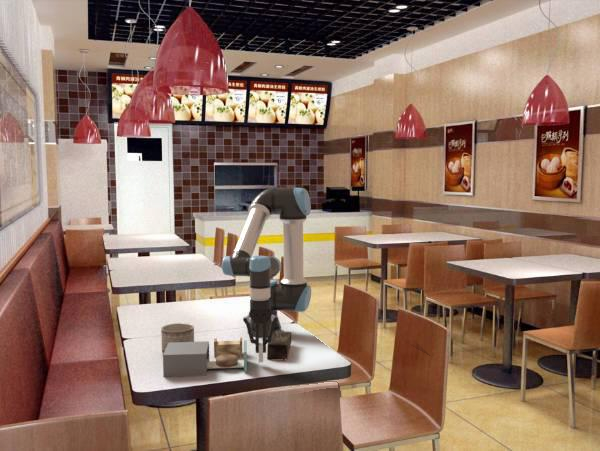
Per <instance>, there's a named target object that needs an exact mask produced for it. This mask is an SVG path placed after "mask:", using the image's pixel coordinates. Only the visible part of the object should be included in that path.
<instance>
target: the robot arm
mask: <svg viewBox="0 0 600 451" xmlns="http://www.w3.org/2000/svg"><path fill="white" fill-rule="evenodd" d="M311 205H312V204H311V197H310V194H309V192H308V190H307V189H306V188H304V187H270V188H266V189H265V190H263V191H261V192H259V193H258V194H257V195H256V196H255V198H253V200H252V201H251V203H250V205H249V206H248V210H247V211H248V217H247V218H246V220H245V223H244V225H243V228H242V230H241V233H240V236H239V237H238V240H237V243H236V245H235V248H234V250H233V252H232V254H231V255H226V256H224V257H223V259H222V262H221V270H222V273H223V274H224V275H225V276H230V277H249V298H250V300H249V312H248V314H247V315H246V316H243V317H242V321H243V322H244V324H245V325H246V330H247V334H248V337H249V341H250V343H251V344H254V345H255V354H258V363H264V354H265V353H266V352H267V345H268V343H270V342H271V339H272V334H273V332H276V331H280V332H282V324H281V323H280V319H279V316H278V311H281V312H294V313H304V312H306V311H307V310H308V308H309V306H310V303H311V297H312V287H311V285H309V284H308V280H307V279H306V278H305V277H304V223H305V221H307V216H309V215H310V214H311V210H312V206H311ZM273 215H277V216H278V215H279V221H280V222H282V227H283V228H282V232H283V233H282V234H283V236H282V237H283V238H282V239H283V278H282V279H281V280H280V283H278V282H279V281H278V280H276V279H271V278H273V277H276V276H277V275H278V274H279V273H280V272H281V270H282V263H281V260H280V259H278V258H277V257H276V256H267V255H254V256H253V254H254V252H255V249H256V248H257V244H258V241H259V239H260V236H261V234H262V231H263V228H264V226H265V224H266V222H267V221H268V220H269V219H270V217H271V216H273ZM254 337H255V338H254ZM260 338H262V342H260ZM266 354H267V353H266Z"/></svg>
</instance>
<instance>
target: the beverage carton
mask: <svg viewBox="0 0 600 451" xmlns="http://www.w3.org/2000/svg"><path fill="white" fill-rule="evenodd" d="M291 345H292V332H291V331H290V332H289V331H281V332H280V331H276V332H273V334H272V339H271V342H270V343H267V346H266V352H267V353H266V356H267V357H266V359H267V360H271V359H283V360H282V361H286V360H285V359H287V360H288V356H289V353H290V349H291Z"/></svg>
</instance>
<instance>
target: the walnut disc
mask: <svg viewBox="0 0 600 451" xmlns="http://www.w3.org/2000/svg"><path fill="white" fill-rule="evenodd" d="M238 360H239V357H237V356H236V355H231V354H225V355H220V356H218V357H215V361H216V365H218V366H221V367H231V366H235V365H237V364H238Z"/></svg>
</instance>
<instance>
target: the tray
mask: <svg viewBox="0 0 600 451" xmlns="http://www.w3.org/2000/svg"><path fill="white" fill-rule="evenodd" d="M247 343H248V341H247V340H245V339H244V340H243V359H241V360H240V359H238V364H237V365H235V366H231V367H221V366H218V365H216V360H214V361H213V360H211V361H210V358H209V359H207V369H208V370H211V369H233V368H234V369H236V368H237V369H238V368H243V373H248V351H247V350H248V348H247V346H248V345H247Z"/></svg>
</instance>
